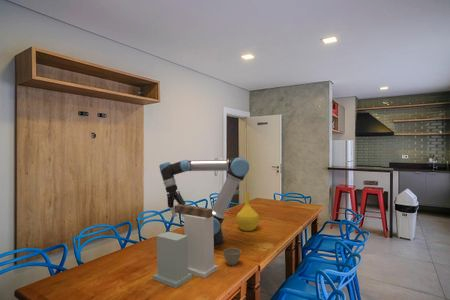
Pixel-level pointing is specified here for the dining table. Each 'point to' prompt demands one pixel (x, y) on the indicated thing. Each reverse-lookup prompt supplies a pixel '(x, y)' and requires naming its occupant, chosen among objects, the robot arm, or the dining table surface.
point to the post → (172, 259)
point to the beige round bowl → (232, 255)
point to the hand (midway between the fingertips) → (179, 216)
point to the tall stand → (200, 245)
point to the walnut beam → (194, 211)
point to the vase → (247, 217)
